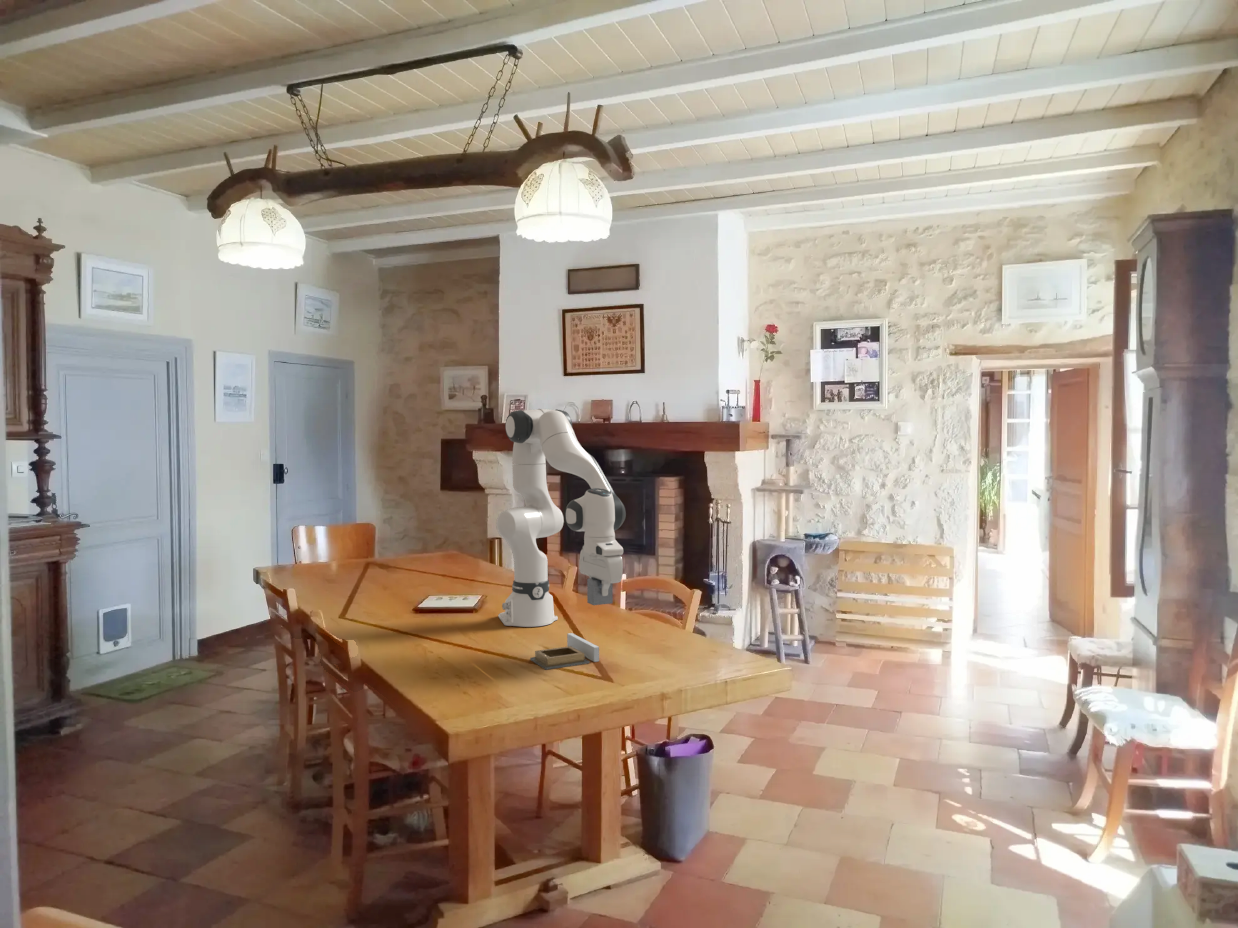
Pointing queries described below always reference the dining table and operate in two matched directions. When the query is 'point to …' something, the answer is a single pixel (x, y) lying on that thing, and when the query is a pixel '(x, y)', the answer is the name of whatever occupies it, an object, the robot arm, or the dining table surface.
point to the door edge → (583, 647)
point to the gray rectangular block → (597, 592)
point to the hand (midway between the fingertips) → (599, 593)
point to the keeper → (559, 657)
